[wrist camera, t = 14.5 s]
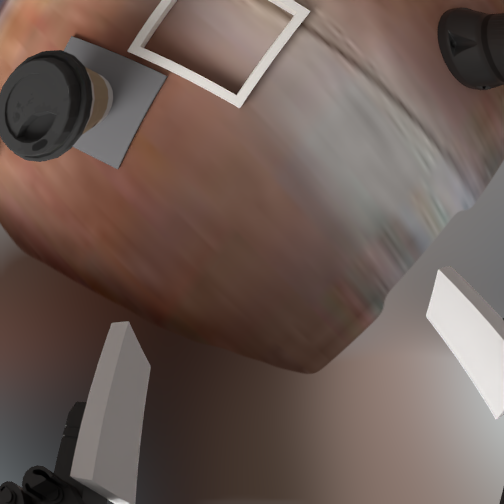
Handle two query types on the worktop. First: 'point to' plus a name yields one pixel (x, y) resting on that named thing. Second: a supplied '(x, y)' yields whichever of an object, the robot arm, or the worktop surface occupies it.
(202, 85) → the holder frame
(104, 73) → the rubber mat
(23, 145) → the coffee cup
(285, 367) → the worktop surface
